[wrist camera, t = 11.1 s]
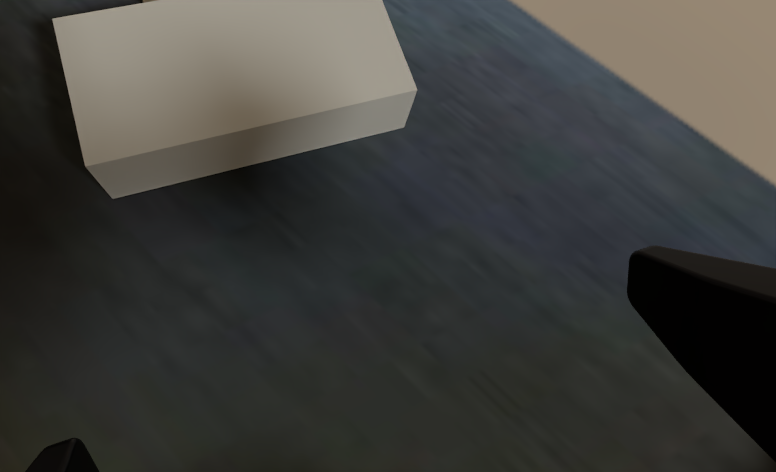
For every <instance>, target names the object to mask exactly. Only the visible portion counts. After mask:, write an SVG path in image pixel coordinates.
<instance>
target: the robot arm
mask: <svg viewBox="0 0 776 472" xmlns="http://www.w3.org/2000/svg"><path fill="white" fill-rule="evenodd" d="M627 295H628V298H629V301H630V303H631V305H632V306H633V307H634V309H635V310H636V311H637V312H638V313H639V315H640V316H641V317H642V318H643V320H644V321H645V322H646V323H647V324H648V326H649V327H650V328H651V329H652V331H653V332H654V333H655V334H656V336H657V337H658V338H659V339H660V340H661V342H662V343H663V344H664V345H665V347H666V348H667V349H668V350H669V352H670V353H671V354H672V355H673V356H674V358H675V359H676V360H677V361H678V362H679V364H680V365H681V366H682V367H683V368H684V369H685V371H686V372H687V373H688V374H689V375H690V376H691V377H692V378H693V379H694V380H695V381H696V382H697V383H698V384H699V385H700V386H701V387H702V388H703V389H704V390H705V391H706V392H707V393H708V394H709V395H710V396H711V397H712V398H713V399H714V400H715V401H716V403H717V404H718V405H719V406H720V407H721V408H722V409H723V410H724V411H725V412H726V413H727V414H728V415H729V416H730V417H731V418H732V419H733V420H734V421H735V422H736V423H737V424H738V425H739V426H740V427H741V428H742V429H743V430H744V431H745V432H746V433H747V434H748V435H749V436H750V437H751V438H752V439H753V440H754V441H755V442H756V443H757V444H758V445H759V446H760V447H761V448H762V449H763V450H764V451H765V452H766V453H767V454H768V455H769V456H770V457H771V458H772V459H773V460H774V461H775V462H776V269H775V268H770V267H765V266H759V265H754V264H749V263H744V262H739V261H734V260H728V259H723V258H718V257H713V256H708V255H702V254H697V253H692V252H687V251H682V250H677V249H671V248H666V247H661V246H649V247H646V248H643V249H640V250H637V251H635V252H634V253H632V255H631V257H630V259H629V270H628V284H627ZM25 472H99V470H98V468H97V467H96V465H95V463H94V461H93V459H92V458H91V456H90V454H89V452H88V450H87V449H86V447H85V445H84V443H83V442H82V441H81V440H80V439H77V438H71V439H68V440H65V441H62V442H59V443H56V444H53V445H50V446H48V447H46V448H45V449H43V451H42V452H41V453H40V454H39V455H38V456H37V458H36V459H35V460H34V461H33V462H32V464H31V465H30V466H29V467H28V469H27V470H26V471H25Z"/></svg>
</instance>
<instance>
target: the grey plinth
mask: <svg viewBox="0 0 776 472" xmlns="http://www.w3.org/2000/svg"><path fill="white" fill-rule="evenodd" d="M52 20H53V25H54V29H55V33H56V38H57V42H58V47H59V51H60V56H61V60H62V65H63V69H64V74H65V78H66V83H67V87H68V92H69V96H70V101H71V105H72V110H73V114H74V119H75V123H76V128H77V132H78V137H79V141H80V146H81V150H82V155H83V159H84V164H85V167H86V168H87V169H88V171H89V172H90V173H91V174H92V175H93V176H94V178H95V179H96V180H97V181H98V182H99V184H100V185H101V186H102V187H103V188H104V189H105V191H106V192H107V193H108V194H109V195H110V197H111V198H112V199H115V198H119V197H123V196H127V195H131V194H136V193H140V192H144V191H148V190H152V189H156V188H160V187H164V186H168V185H172V184H176V183H180V182H184V181H188V180H192V179H196V178H201V177H205V176H209V175H213V174H217V173H221V172H225V171H229V170H233V169H237V168H241V167H245V166H249V165H253V164H257V163H262V162H266V161H270V160H274V159H278V158H282V157H286V156H290V155H294V154H298V153H302V152H306V151H310V150H314V149H318V148H322V147H327V146H331V145H335V144H339V143H343V142H347V141H351V140H355V139H359V138H363V137H367V136H371V135H375V134H379V133H383V132H387V131H392V130H396V129H400V128H404V126H405V123H406V120H407V118H408V115H409V112H410V109H411V106H412V103H413V101H414V98H415V95H416V92H417V88H416V85H415V83H414V80H413V78H412V75H411V73H410V70H409V68H408V65H407V62H406V60H405V57H404V55H403V52H402V50H401V47H400V45H399V42H398V40H397V37H396V35H395V32H394V30H393V27H392V24H391V22H390V19H389V17H388V14H387V12H386V9H385V7H384V4H383V2H382V0H157V1H151V2H145V3H139V4H134V5H128V6H122V7H117V8H111V9H105V10H99V11H94V12H88V13H82V14H76V15H71V16H65V17H59V18H53V19H52Z"/></svg>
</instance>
